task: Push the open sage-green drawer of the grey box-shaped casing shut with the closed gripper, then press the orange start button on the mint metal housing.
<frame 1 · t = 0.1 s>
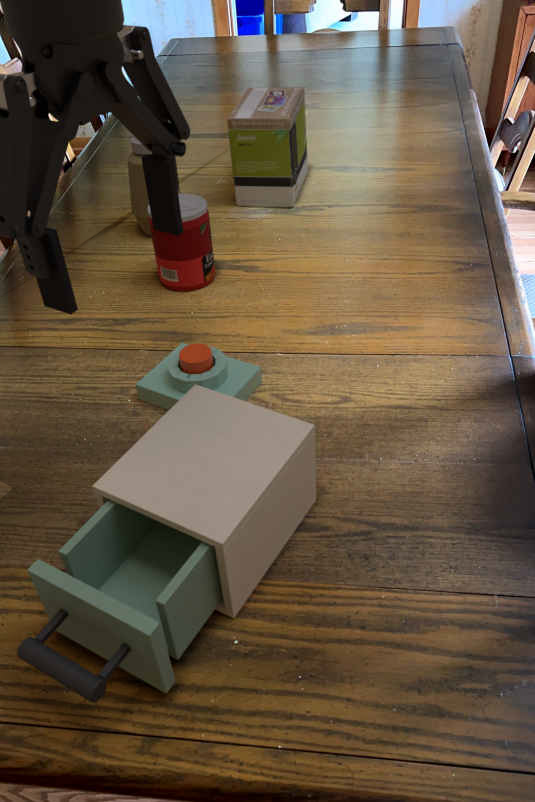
hand: (119, 267, 58), 23 cm above the table, tool pointing down, fingers open, 13 cm apart
canned food: (188, 279, 101), on the table
start button: (196, 359, 79), point 4 cm above the table, slide at 0.1 cm
tea box: (273, 190, 123), on the table
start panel: (200, 390, 81), on the table
drawer: (135, 586, 56), point 5 cm above the table, slide at 7.0 cm
squeeze bottle: (161, 229, 114), on the table
grey box-shaped casing: (218, 529, 66), on the table
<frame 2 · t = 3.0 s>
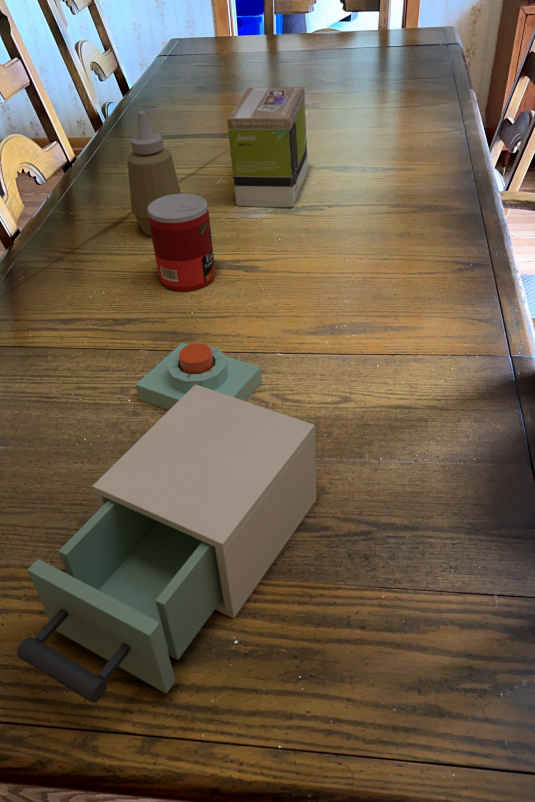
nothing on the table moved.
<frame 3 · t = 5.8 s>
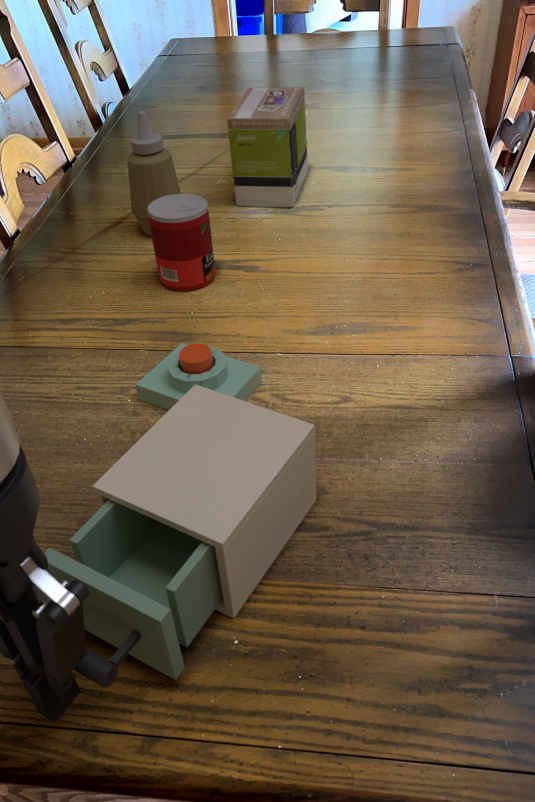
hand: (60, 702, 51), 2 cm above the table, tool pointing down, fingers closed
drawer: (144, 575, 56), point 5 cm above the table, slide at 5.8 cm, touching gripper
everything else where it was.
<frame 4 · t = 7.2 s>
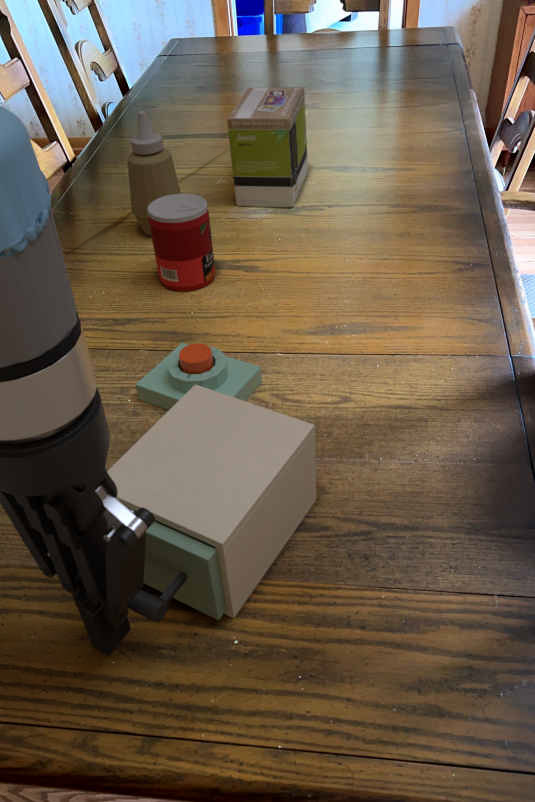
hand: (112, 638, 55), 2 cm above the table, tool pointing down, fingers closed
drawer: (187, 524, 60), point 5 cm above the table, slide at 0.0 cm, touching grey box-shaped casing, gripper
everything else where it was.
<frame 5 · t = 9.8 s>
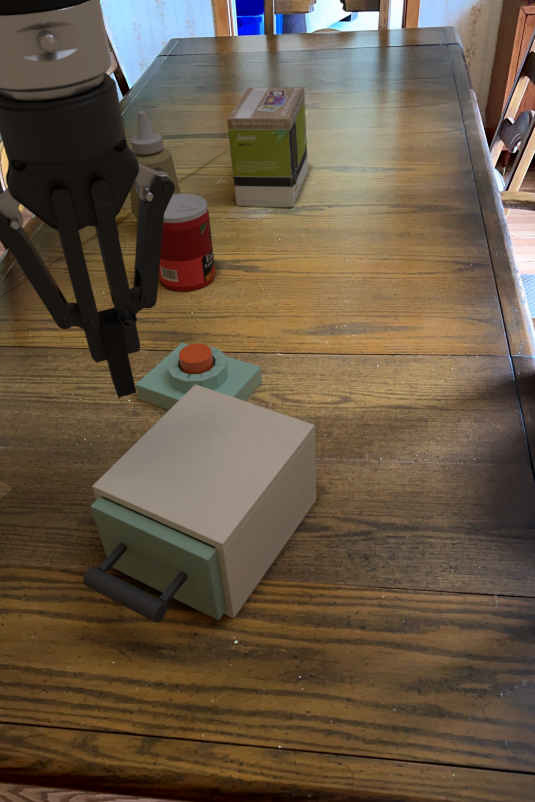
hand: (123, 385, 58), 15 cm above the table, tool pointing down, fingers closed
drawer: (187, 524, 60), point 5 cm above the table, slide at 0.0 cm, touching grey box-shaped casing
everything else where it was.
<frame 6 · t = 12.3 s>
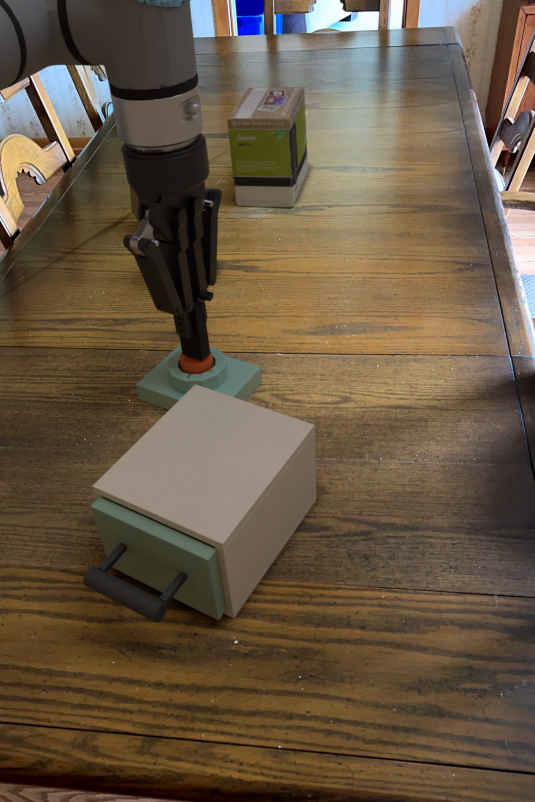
hand: (196, 353, 78), 5 cm above the table, tool pointing down, fingers closed
start button: (196, 362, 79), point 4 cm above the table, slide at -0.3 cm, touching gripper
everything else where it was.
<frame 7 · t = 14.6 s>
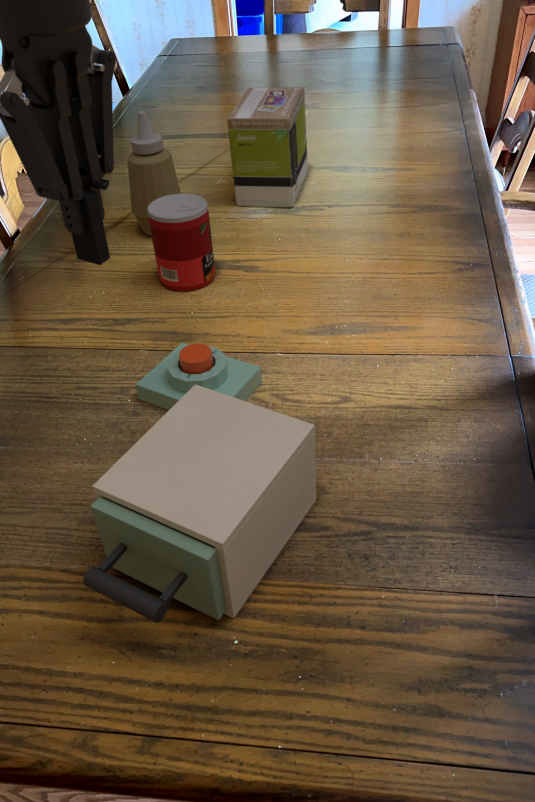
hand: (93, 258, 67), 19 cm above the table, tool pointing down, fingers closed
start button: (196, 359, 79), point 4 cm above the table, slide at 0.1 cm
everything else where it was.
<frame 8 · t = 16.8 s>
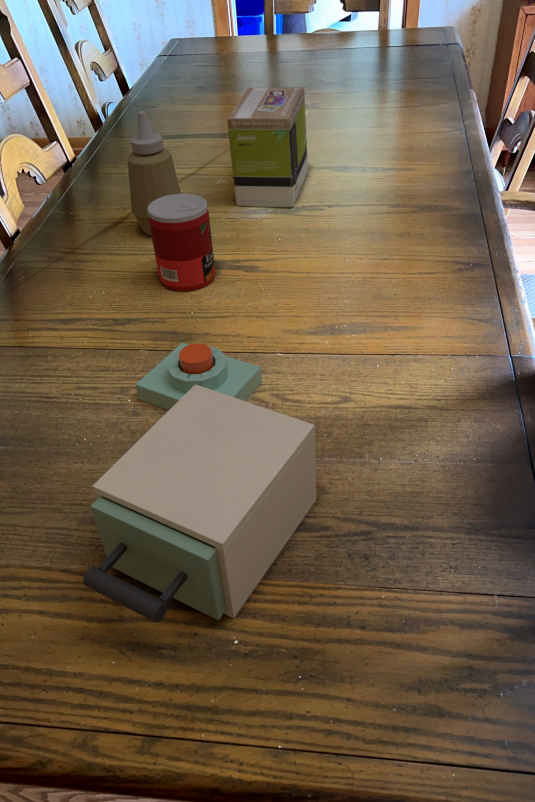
nothing on the table moved.
at the end: drawer slide at 0.0 cm; start button pushed in 1.0 cm at the most during the clip, back to where it started at the end; start button slide at 0.1 cm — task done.
